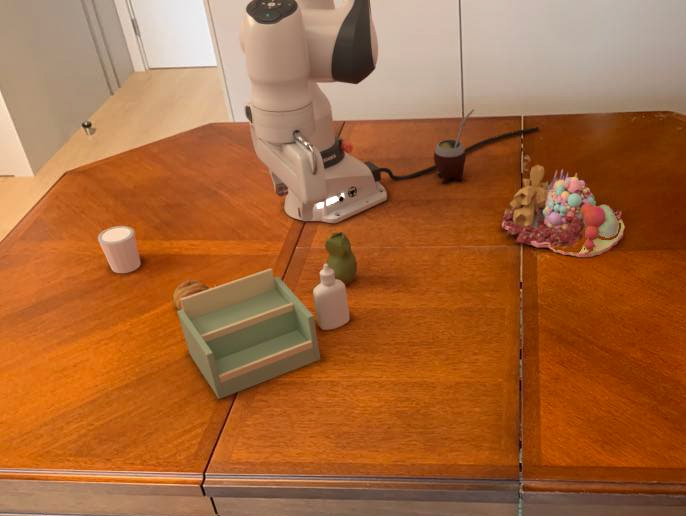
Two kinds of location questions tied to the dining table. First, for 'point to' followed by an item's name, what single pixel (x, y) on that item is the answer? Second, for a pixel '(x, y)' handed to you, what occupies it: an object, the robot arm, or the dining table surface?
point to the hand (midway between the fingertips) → (293, 206)
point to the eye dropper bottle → (330, 301)
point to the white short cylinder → (120, 248)
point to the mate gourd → (451, 157)
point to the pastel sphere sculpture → (560, 215)
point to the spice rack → (248, 332)
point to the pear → (341, 257)
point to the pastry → (187, 291)
